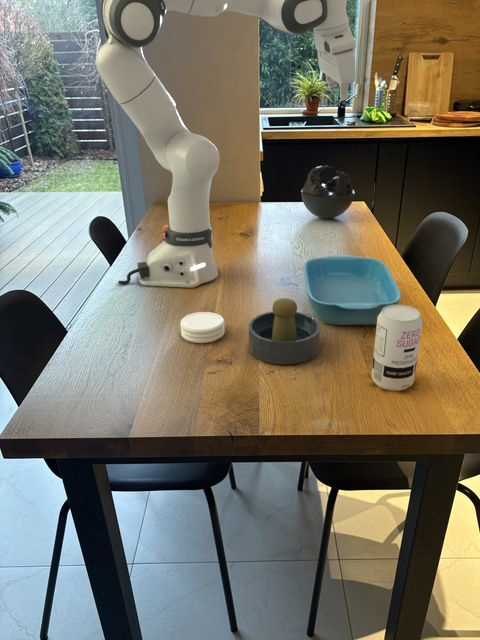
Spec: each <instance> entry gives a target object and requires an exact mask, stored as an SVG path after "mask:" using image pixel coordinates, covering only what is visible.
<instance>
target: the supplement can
mask: <svg viewBox="0 0 480 640" xmlns="http://www.w3.org/2000/svg"><path fill="white" fill-rule="evenodd" d="M423 323H424V322H423V319H422V317H421V312H420V311H419V310H418V309H417V308H415V307H414V306H409V305H406V304H397V305H389V306H386V307H384V308H383V309H382V312H381V313H380V314H379V316H378V318H377V324H376V328H375V329H376V330H375V337H374V346H373V356H372V366H371V380H372V381H373V383H374V384H375V385H376V386H378V387H379V388H380V389H384V390H387V391H392V392H399V391H404V390H407V389H408V388H409V387H412V385H413V384H414V382H415V377H416V371H417V365H418V364H417V363H418V356H419V349H420V343H421V337H422V331H423Z"/></svg>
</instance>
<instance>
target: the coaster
mask: <svg viewBox="0 0 480 640" xmlns="http://www.w3.org/2000/svg"><path fill="white" fill-rule="evenodd" d="M179 326H180V335H181V337H182V339H184V340H185V341H187V342H190V343H194V344H207V343H208V344H209V343H213V342H215V341H216V342H217V341H218V340H220V339H221V338H222V337H224V335H225V319H224V317H222V316H221V315H220V314H218V313H215V312H211V311H197V312H193V313H189V314H187V315H185V316H184V317H183V318H182V319H181V320H180V323H179Z"/></svg>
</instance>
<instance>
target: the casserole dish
mask: <svg viewBox="0 0 480 640" xmlns="http://www.w3.org/2000/svg"><path fill="white" fill-rule="evenodd" d="M303 276H304V277H303V278H304V283H305V288H306V293H307V296H308V301H309V303H310V306H311V307H310V308H311V309H312V311H313V313H314V315H315V316H316V317H317V319H319V320H320V321H321V322H323V323H325V324H327V325H334V326H353V325H354V326H371V325H373V326H374V325H377V318H378V316H379V314H380V313H381V312H382V309H383V308H384V307H386V306H389V305H399V302H400V301H401V298H402V297H401V291H400V288H399V286H398V285H397V283H396V281H395V279H394V277H393V274H392V273H391V270H390V268H389V267H388V265H387V264H386V263H385V262H383V261H382V260H380V259H377V258H373V257H367V256H365V257H364V256H358V255H357V256H356V255H351V254H350V255H349V254H335V255H334V254H333V255H327V256H323V257H315V258H310V259H308V260H307V261H305V263H304V264H303Z"/></svg>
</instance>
